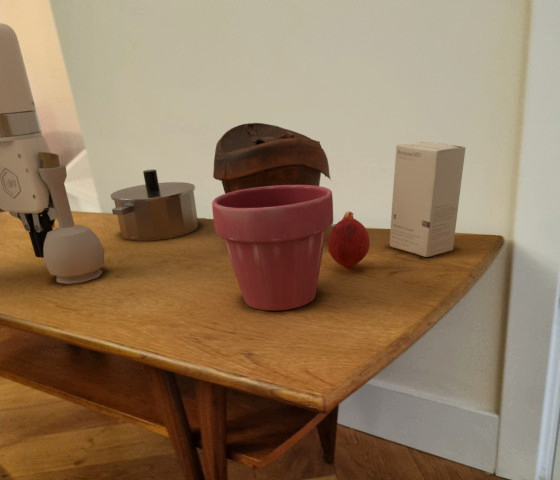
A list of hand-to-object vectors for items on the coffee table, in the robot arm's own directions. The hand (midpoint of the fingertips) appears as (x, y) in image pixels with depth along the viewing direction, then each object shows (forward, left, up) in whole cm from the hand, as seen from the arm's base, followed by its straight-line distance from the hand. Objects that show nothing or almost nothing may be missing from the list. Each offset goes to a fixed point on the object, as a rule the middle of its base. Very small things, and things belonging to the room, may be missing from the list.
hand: (47, 255), depth 86 cm
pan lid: (0, +26, +4) cm, 26 cm away
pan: (0, +26, -3) cm, 26 cm away
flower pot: (+40, +2, -3) cm, 41 cm away
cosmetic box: (+51, +27, -3) cm, 58 cm away
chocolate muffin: (+26, +26, -3) cm, 37 cm away
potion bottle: (+6, 0, -3) cm, 7 cm away
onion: (+44, +15, -3) cm, 47 cm away
